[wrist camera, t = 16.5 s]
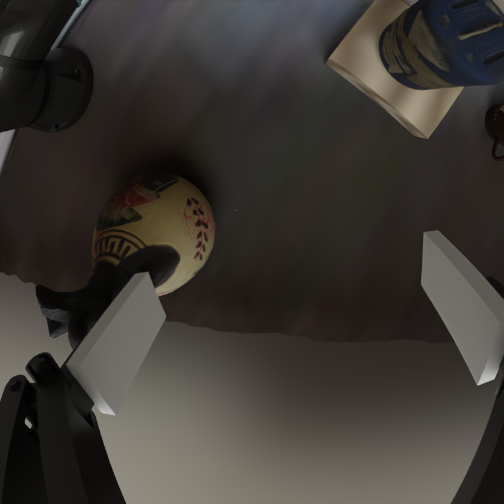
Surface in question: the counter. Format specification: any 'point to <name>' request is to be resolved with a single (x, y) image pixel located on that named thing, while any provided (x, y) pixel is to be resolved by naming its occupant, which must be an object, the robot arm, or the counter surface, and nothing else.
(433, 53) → the canister
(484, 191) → the counter surface
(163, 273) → the ceramic jug
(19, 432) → the robot arm
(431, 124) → the dock
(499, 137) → the coffee mug
